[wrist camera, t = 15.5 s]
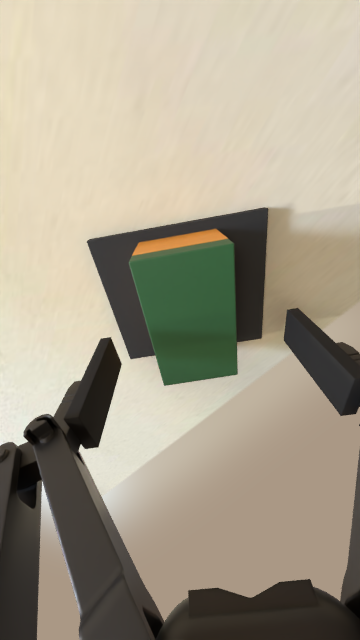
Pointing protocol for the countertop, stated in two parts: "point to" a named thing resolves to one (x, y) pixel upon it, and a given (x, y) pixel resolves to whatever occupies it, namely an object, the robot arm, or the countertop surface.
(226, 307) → the sponge
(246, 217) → the sink mat
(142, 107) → the countertop surface
